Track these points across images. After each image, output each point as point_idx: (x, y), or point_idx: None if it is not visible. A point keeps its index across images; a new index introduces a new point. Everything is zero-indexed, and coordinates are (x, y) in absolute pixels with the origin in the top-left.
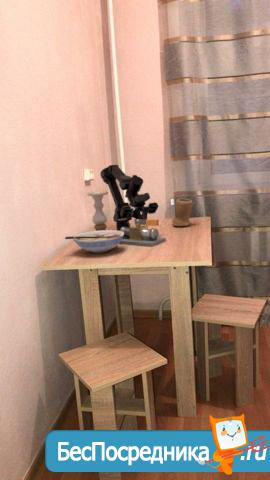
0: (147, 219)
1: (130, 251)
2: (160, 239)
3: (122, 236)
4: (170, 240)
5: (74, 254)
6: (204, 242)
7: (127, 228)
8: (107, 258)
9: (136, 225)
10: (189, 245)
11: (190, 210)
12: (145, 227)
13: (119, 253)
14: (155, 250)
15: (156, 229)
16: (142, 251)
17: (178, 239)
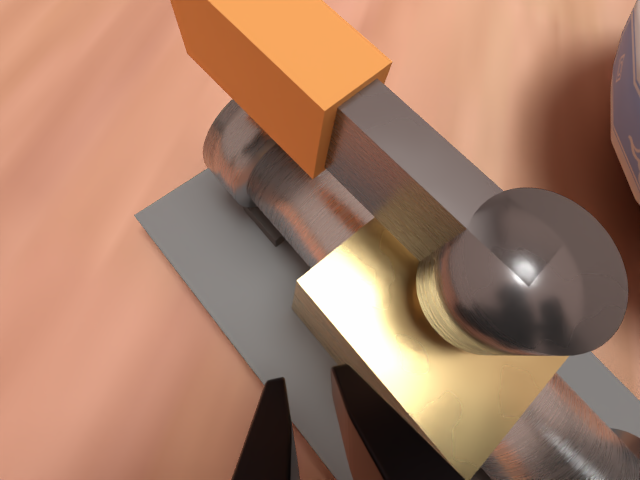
0: (359, 55)
1: (493, 74)
2: (210, 181)
3: (635, 6)
4: (95, 230)
5: None
6: None
7: (604, 456)
8: (624, 11)
9: None
10: (77, 3)
11: None
12: (348, 241)
13: (562, 67)
14: (339, 14)
15: (235, 106)
16: (421, 35)
17: (5, 227)
